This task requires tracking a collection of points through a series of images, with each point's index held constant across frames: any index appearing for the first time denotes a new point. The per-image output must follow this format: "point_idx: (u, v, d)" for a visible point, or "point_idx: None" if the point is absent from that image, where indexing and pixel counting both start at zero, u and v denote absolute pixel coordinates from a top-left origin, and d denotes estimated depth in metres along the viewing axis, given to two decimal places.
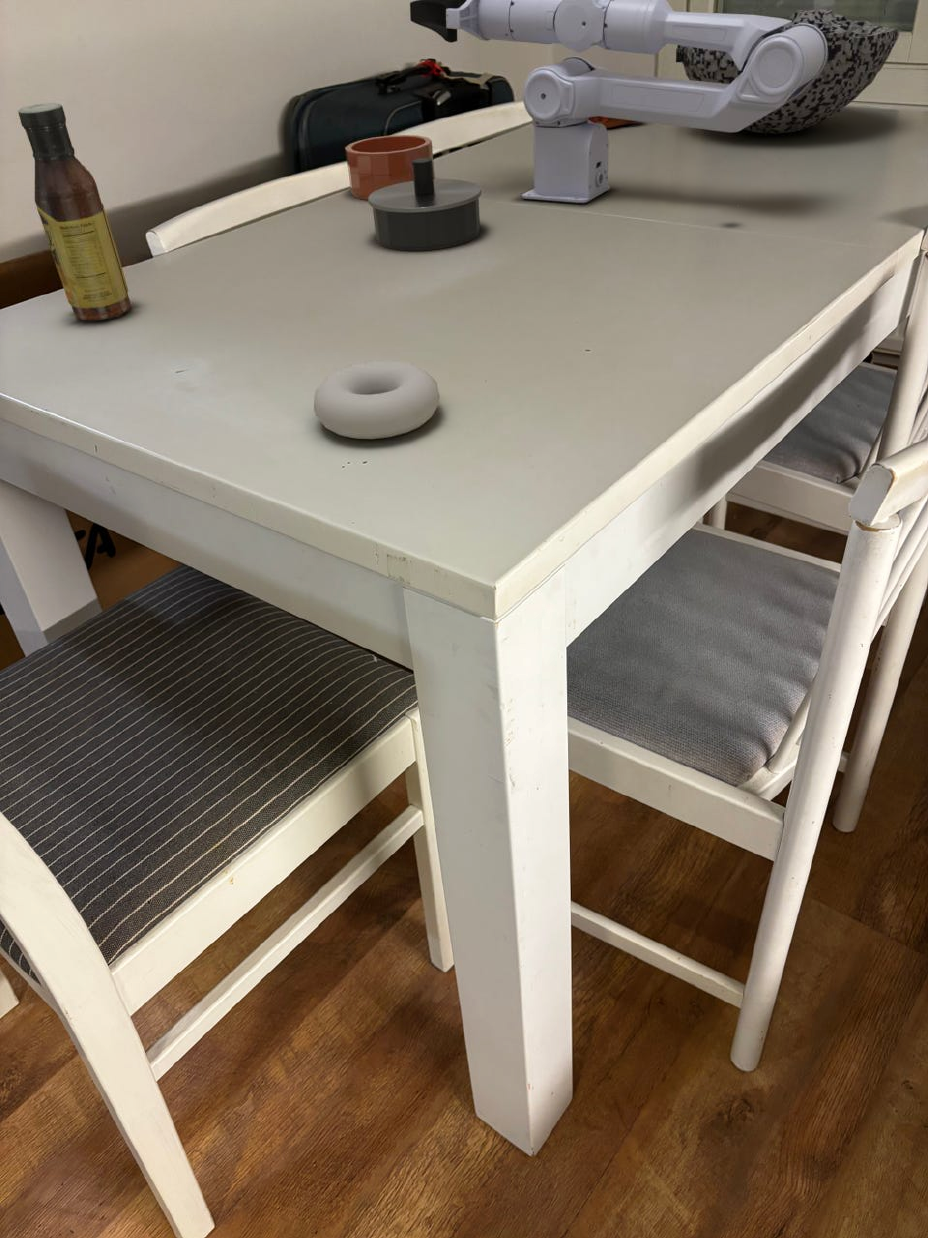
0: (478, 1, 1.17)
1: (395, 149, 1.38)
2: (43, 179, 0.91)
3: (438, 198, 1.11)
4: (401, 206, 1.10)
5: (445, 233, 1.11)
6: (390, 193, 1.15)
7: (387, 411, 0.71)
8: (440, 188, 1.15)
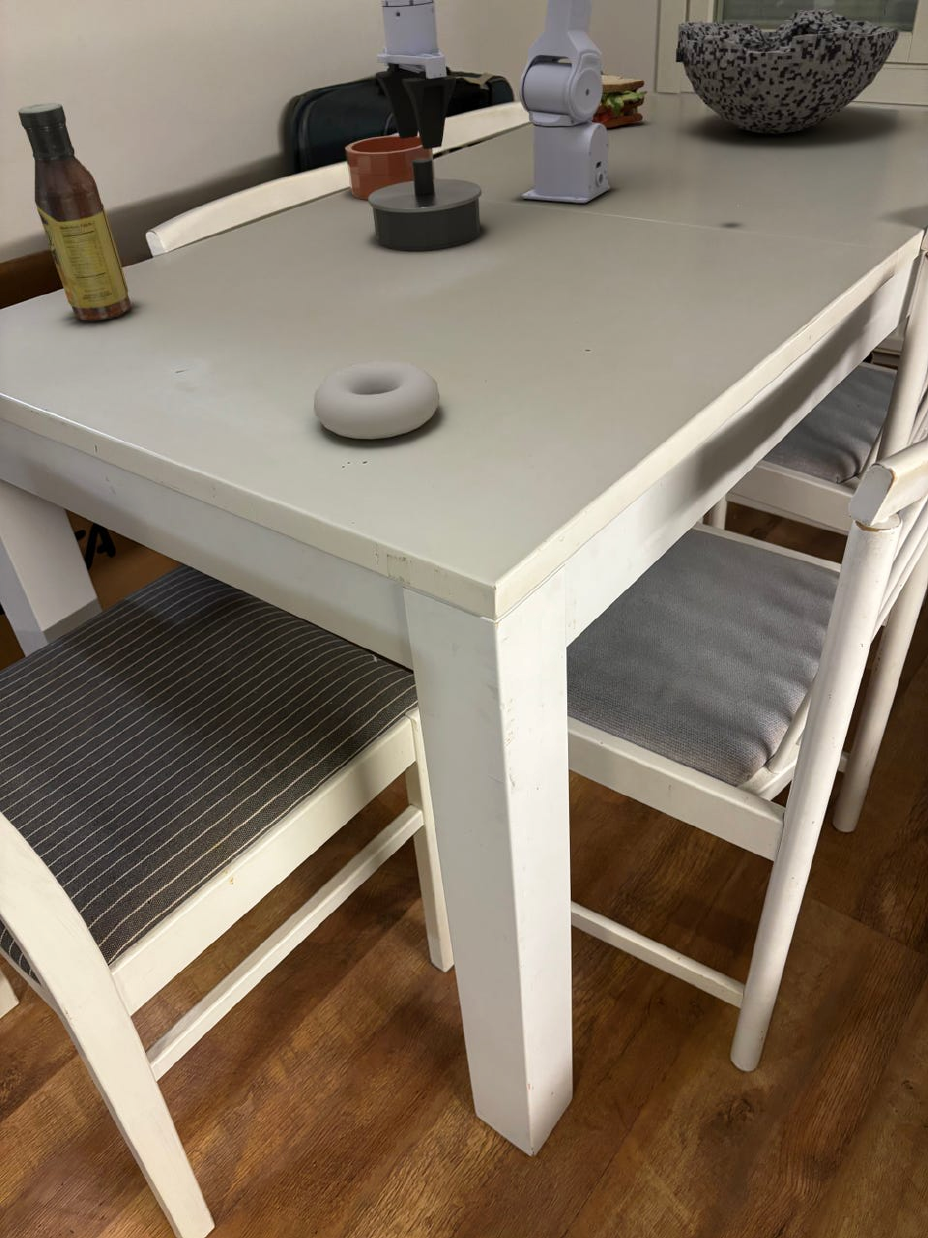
0: (408, 54, 1.03)
1: (395, 149, 1.38)
2: (43, 179, 0.91)
3: (438, 198, 1.11)
4: (401, 206, 1.10)
5: (445, 233, 1.11)
6: (390, 193, 1.15)
7: (388, 411, 0.71)
8: (440, 188, 1.15)
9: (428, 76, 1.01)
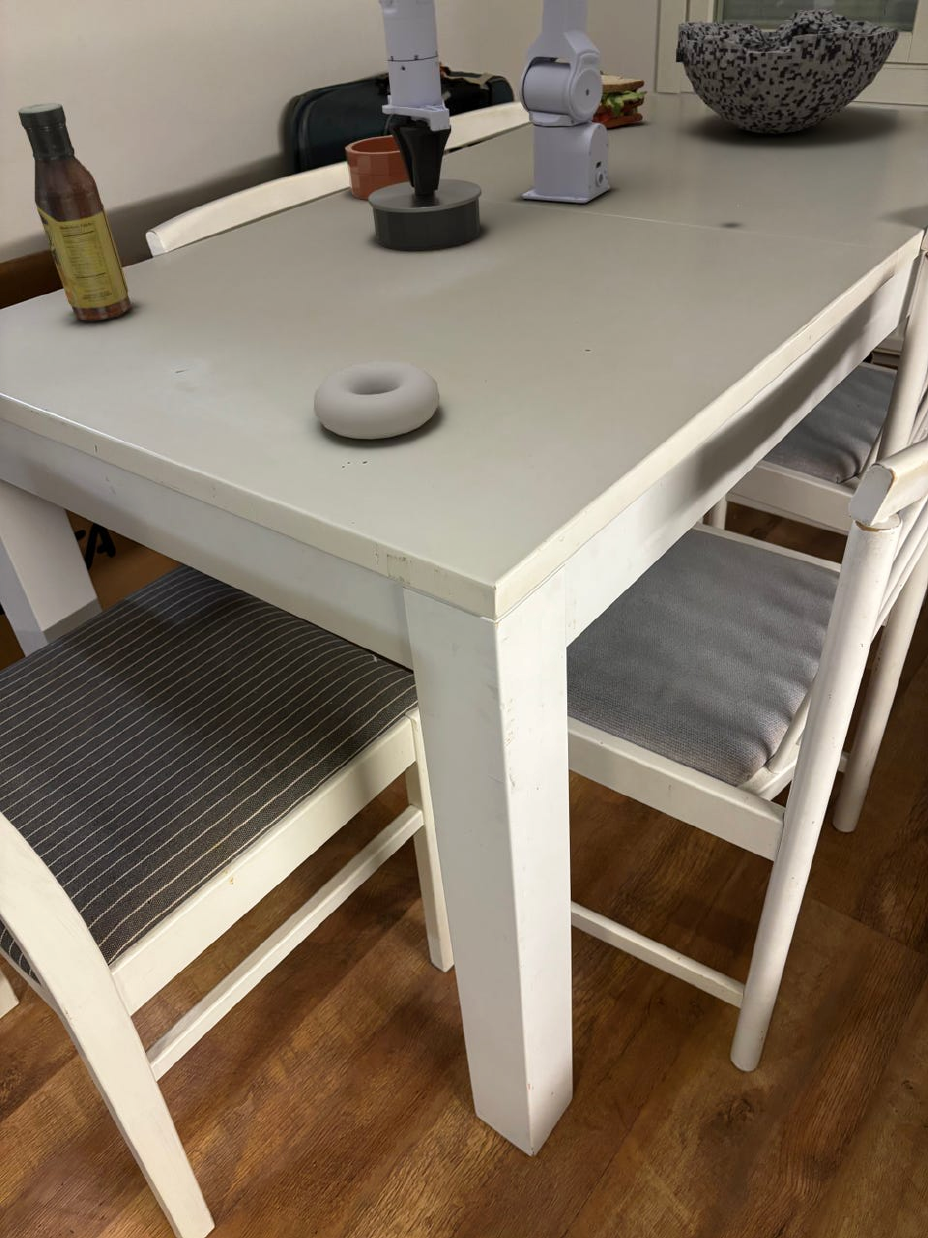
0: (413, 106, 1.06)
1: (395, 149, 1.38)
2: (43, 179, 0.91)
3: (438, 198, 1.11)
4: (401, 206, 1.10)
5: (445, 233, 1.11)
6: (390, 193, 1.15)
7: (388, 411, 0.71)
8: (440, 188, 1.15)
9: (432, 128, 1.04)
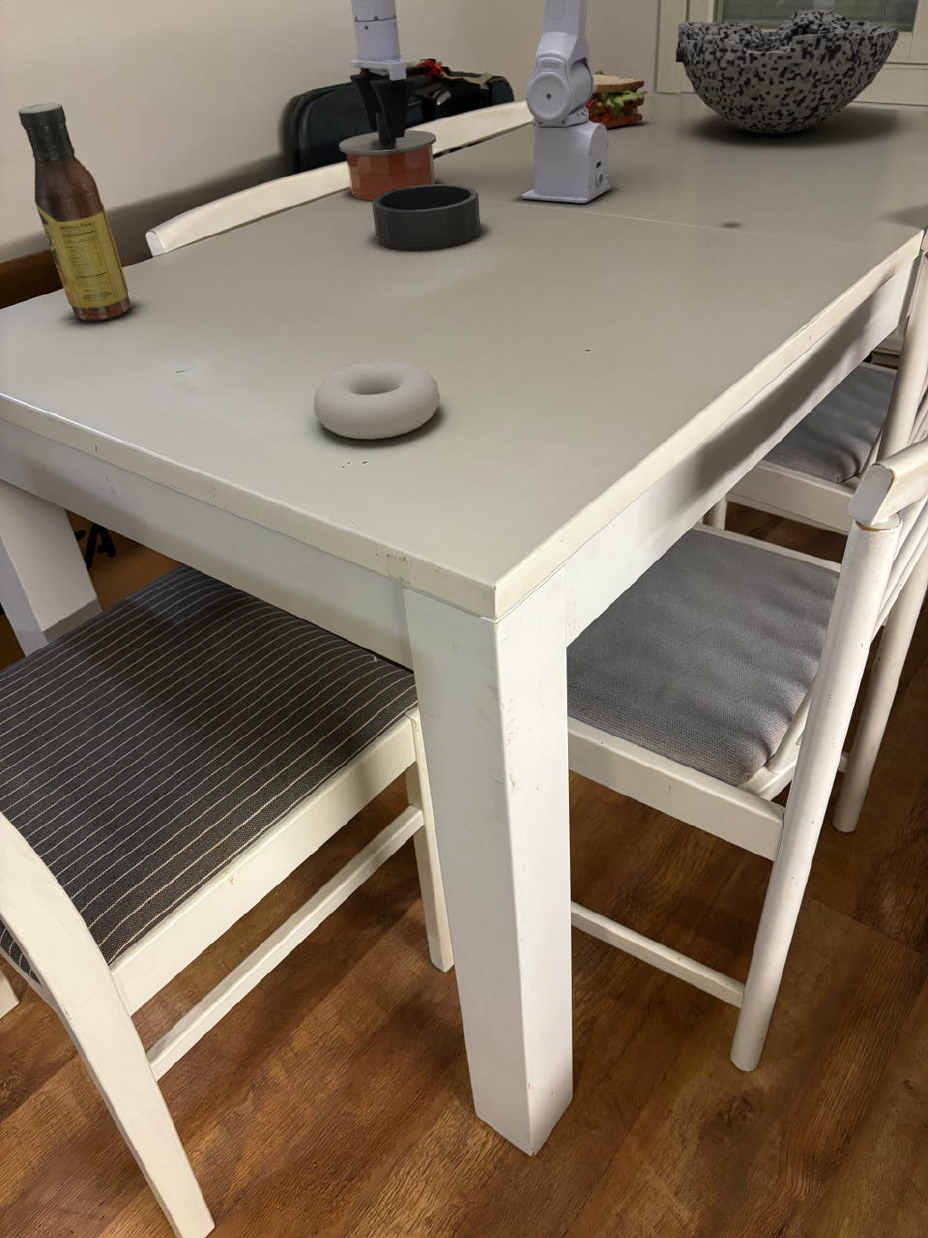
0: (375, 60, 1.25)
1: None
2: (43, 179, 0.91)
3: (398, 143, 1.30)
4: (366, 150, 1.29)
5: (445, 233, 1.11)
6: (358, 141, 1.34)
7: (388, 411, 0.71)
8: None
9: (391, 78, 1.22)
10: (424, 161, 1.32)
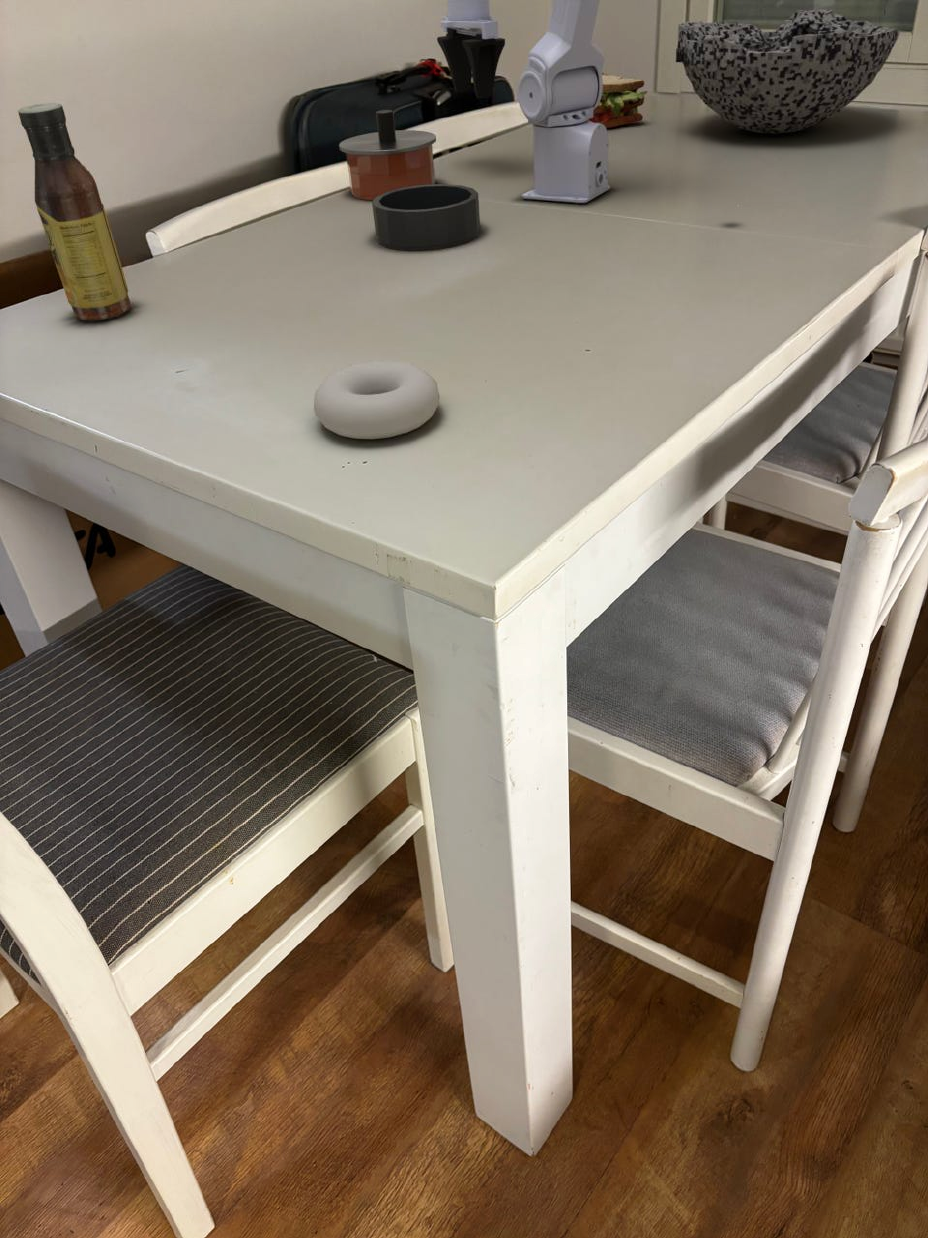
0: (467, 20, 1.27)
1: None
2: (43, 179, 0.91)
3: (398, 143, 1.30)
4: (366, 150, 1.29)
5: (445, 233, 1.11)
6: (358, 141, 1.34)
7: (388, 411, 0.71)
8: (401, 136, 1.34)
9: (484, 37, 1.25)
10: (424, 161, 1.32)
